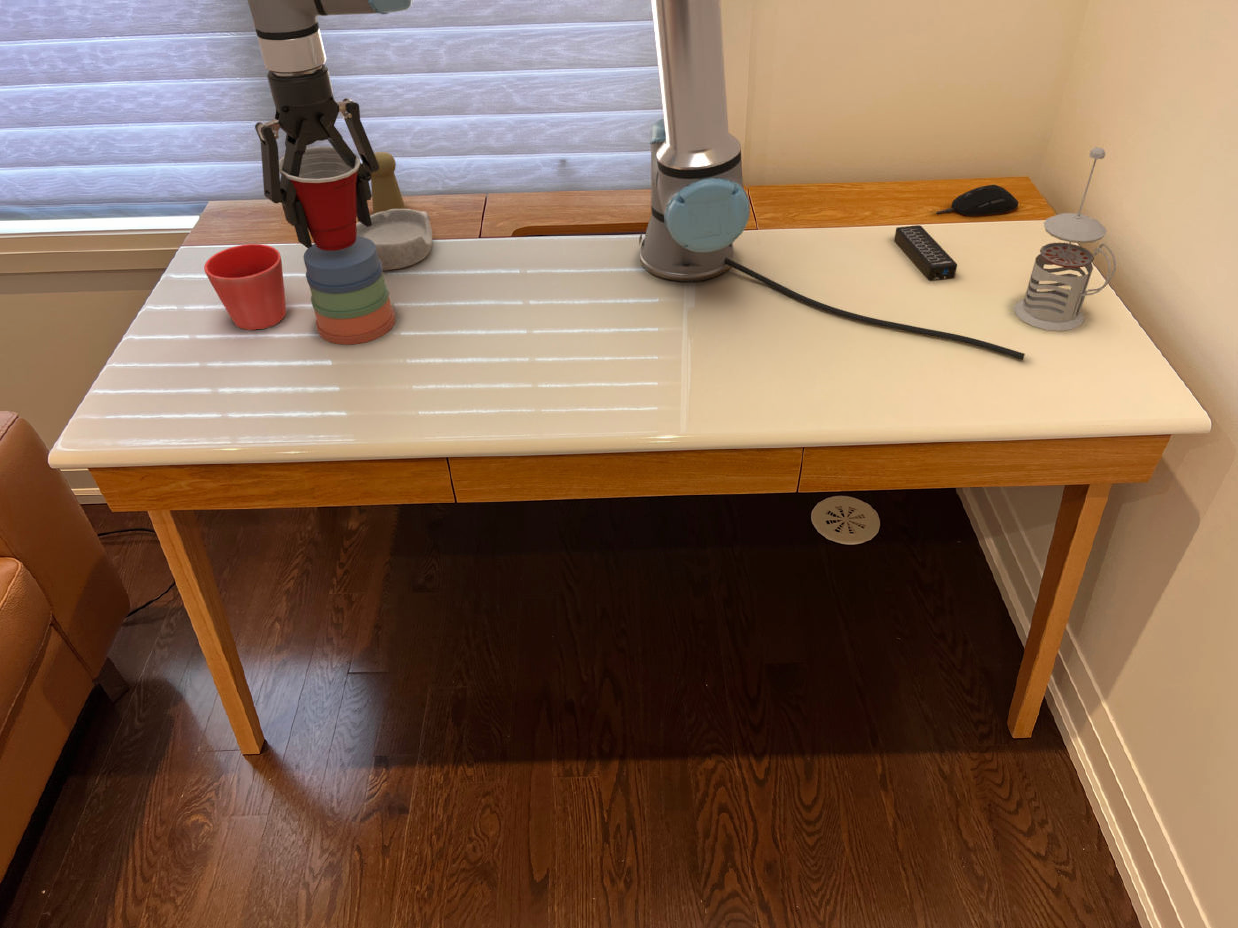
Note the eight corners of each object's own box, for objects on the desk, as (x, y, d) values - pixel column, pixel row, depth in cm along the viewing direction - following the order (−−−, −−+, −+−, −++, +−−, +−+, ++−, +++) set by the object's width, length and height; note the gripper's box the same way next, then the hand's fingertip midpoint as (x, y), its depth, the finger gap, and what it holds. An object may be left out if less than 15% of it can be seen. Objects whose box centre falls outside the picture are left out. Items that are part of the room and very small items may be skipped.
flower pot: (258, 343, 140) (239, 285, 133) (208, 324, 144) (188, 266, 138) (311, 311, 146) (295, 253, 140) (262, 293, 151) (245, 237, 145)
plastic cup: (357, 263, 130) (338, 178, 122) (284, 257, 131) (261, 174, 124) (387, 227, 138) (372, 146, 130) (319, 222, 140) (299, 142, 132)
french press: (1033, 290, 146) (1079, 128, 130) (1108, 316, 139) (1166, 150, 123) (1001, 314, 141) (1045, 149, 125) (1077, 343, 134) (1134, 172, 118)
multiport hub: (918, 237, 160) (920, 224, 159) (955, 278, 149) (958, 265, 148) (893, 240, 160) (895, 227, 158) (928, 281, 149) (931, 268, 147)
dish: (429, 229, 167) (425, 202, 164) (443, 264, 157) (439, 236, 154) (346, 243, 164) (340, 216, 161) (355, 279, 154) (349, 251, 151)
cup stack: (410, 324, 143) (396, 252, 135) (341, 353, 137) (322, 279, 129) (371, 296, 149) (355, 225, 142) (303, 323, 144) (284, 251, 136)
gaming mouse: (928, 206, 169) (933, 185, 167) (1005, 197, 171) (1010, 176, 169) (944, 221, 164) (949, 199, 162) (1023, 212, 166) (1029, 190, 164)
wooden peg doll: (403, 220, 170) (392, 161, 163) (370, 221, 170) (357, 162, 163) (409, 206, 175) (399, 147, 168) (377, 206, 175) (365, 148, 168)
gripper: (357, 43, 127) (388, 202, 141) (202, 81, 116) (252, 249, 131) (386, 55, 122) (414, 218, 137) (227, 95, 112) (277, 268, 126)
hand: (335, 233), depth 134 cm, fingers closed on plastic cup, 9 cm apart
